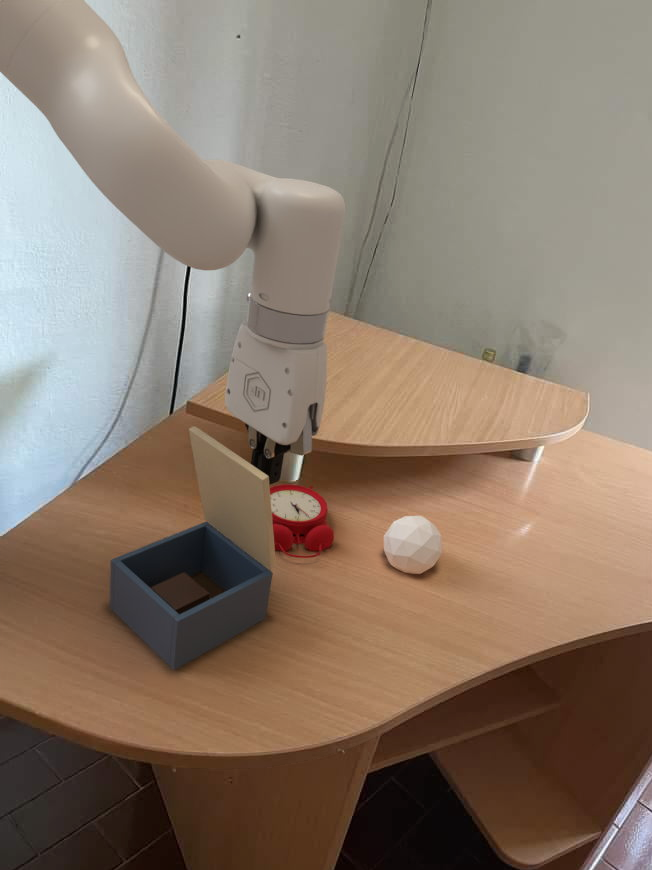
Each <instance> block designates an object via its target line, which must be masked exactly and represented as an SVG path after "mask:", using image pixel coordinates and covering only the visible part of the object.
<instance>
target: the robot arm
mask: <svg viewBox="0 0 652 870" xmlns="http://www.w3.org/2000/svg"><path fill="white" fill-rule="evenodd" d="M126 54H127V53H126V52H125V50H124V47H123V45H122V43H121V41H120V39H119V38H118V36H117V34H116V33H115V32H114V31H113V29H112V27H111V26H109V25H108V24H107V22H106V21H105V20H104V18H102V17H101V16H100V15H98V13H97V12H96V11H95V10H94V8H92V6H90V5H89V4H88V3H87V2H86V0H0V74H2V75H3V77H4V78H6V79H7V80H8V81H9V82H10V84H12V85H13V86H14V87H15V88H16V89H17V90H18V91H19V92H20V93H22V94H23V96H25V98H27V99H28V100H29V101H30V103H32V104H33V105H34V106H35V107H36V108H37V109H38V110H39V111H40V113H42V115H43V116H44V117H45V119H46V120H47V121H48V122H49V124H50V126H51V128H52V129H53V131H54V133H55V134H56V136H57V138H58V139H59V141H60V142H61V143H62V144H63V145H64V146H65V148H66V149H67V151H68V152H69V153H70V155H71V156H72V158H73V159H74V160H75V161H76V163H77V164H78V166H79V167H80V169H82V171H83V173H85V175H86V176H87V177H88V179H89V180H90V181H91V183H92V184H93V185H94V186H95V187H96V188H97V190H99V192H100V193H102V195H103V196H104V197H105V198H106V199H107V200H108V201H109V202H110V203H111V204H112V205H113V206H114V207H115V208H116V209H117V210H118V211H119V212H120V213H121V214H122V215H123V216H124V217H126V219H128V220H129V221H130V222H131V223H132V224H133V225H134V226H135V227H136V228H138V229H139V231H141V232H142V233H143V234H144V235H145V236H146V237H147V238H148V239H149V240H150V241H152V242H153V243H154V244H155V245H156V246H157V247H158V248H160V249H161V250H162V251H163V252H164V253H166V255H168V256H170V257H171V258H172V259H174V260H176V261H177V262H179V263H181V264H183V265H184V266H186V267H190V268H192V269H195V270H200V271H207V272H208V271H217V270H221V269H224V268H226V267H229V266H231V265H232V264H233V263H235V262H236V261H237V260H238V259H240V257H241V256H242V255H243V254H244V252H245V251H246V249H250V250H252V252H253V262H252V263H253V264H252V273H251V282H250V291H249V292H248V294H247V295H246V302H247V303H248V308H247V309H248V310H247V319H244V320H243V321H242V322H241V324H240V327H239V329H238V332H237V334H236V338H235V341H234V344H233V348H232V352H231V356H230V361H229V367H228V373H227V378H226V385H225V394H224V404H225V407H226V409H227V411H228V412H229V413H230V414H231V415H232V416H234V417H235V418H237V419H238V420H239V421H241V422H242V423H243V424H244V426H245V428H246V430H247V433H248V446H249V447H250V449H252V451H251V459H250V464H251V465H253V466H254V467H256V468H257V469H259V470H260V471H262V472H263V473H265V474H266V475H268V476H269V486H270V485H273V484H275V483H276V484H277V483H278V482H279V481H280V480H281V476H282V470H283V462H284V457H285V454H287V453H289V452H290V453H291V454H294V455H297V456H300V457H301V456H305V455H308V454H311V452H312V451H313V437H315V436H316V435H317V434H318V433H319V430H320V427H321V424H322V423H321V422H322V418H323V413H324V407H325V401H326V400H325V399H326V390H327V377H328V374H327V373H328V348H327V344H326V343H325V341H324V340H325V335H326V329H327V323H328V319H329V312H330V306H331V300H332V299H331V298H332V295H333V290H334V289H333V288H334V282H335V277H336V271H337V265H338V260H339V254H340V248H341V247H340V246H341V244H342V243H341V242H342V238H343V237H342V236H343V232H344V231H343V230H344V225H345V220H346V203H345V202H346V201H345V200H344V197H343V195H341V193H340V192H338V191H337V190H336V189H334V188H332V187H329V186H327V185H324V184H321V183H317V182H314V181H309V180H304V179H298V178H288V177H285V178H284V177H283V178H282V177H281V178H279V177H275V176H273V175H270V174H266V173H263V172H260V171H257V170H254V169H253V168H249V167H246V166H244V165H241V164H238V163H236V162H233V161H229V160H225V159H220V158H219V159H216V158H212V159H205V160H204V159H202V158H201V157H200V155H198V154H197V153H196V152H195V150H194V149H192V148H191V146H190V145H189V144H188V143H187V142H186V141H185V140H184V138H182V137H181V136H180V135H179V134H178V133H177V132H176V131H175V129H173V127H171V125H170V124H169V123H168V121H166V120H165V119H164V117H163V116H162V115H161V114H160V112H159V110H157V108H155V106H154V105H153V103H152V102H151V101H150V100H149V98H148V97H147V95H146V94H145V93H144V91H143V89H142V88H141V86H140V85H139V83H138V81H137V79H136V77H135V76H134V73H133V71H132V69H131V66H130V63H129V60H128V57H127V55H126Z"/></svg>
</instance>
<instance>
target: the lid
mask: <svg viewBox="0 0 652 870" xmlns="http://www.w3.org/2000/svg"><path fill="white" fill-rule="evenodd" d="M188 432H189V433H188V434H189V440H190V446H191V451H192V456H193V462H194V469H195V473H196V480H197V486H198V491H199V496H200V503H201V508H202V514H203V519H204V521H205V522H206V521H207V522H208V523H209V524H211V525H212V526H213V527H215V528H216V529H217V530H218V531H220V532H221V533H222V534H224V535H225V536H226V537H227V538H229V539H230V540H231V541H233V542H234V543H235V544H236V545H238V546H239V547H240V548H242V549H243V550H244V551H245V552H247V553H248V554H249V555H251V556H252V557H253V558H254V559H256V560H257V561H258V562H260V563H261V564H262V565H263V566H265V567H266V568H267V569H268V570H270V571H271V572H273V570H275V569H276V568H277V560H276V550H275V547H274V534H273V522H272V510H271V498H270V488H271V486H270V485H269V476H268V475H266V474H265V473H263V472H262V471H260V470H259V469H257V468H256V467H254V466H253V465H251V462H249V461H247V460H246V459H244V458H243V457H241V456H240V455H238V454H237V453H235V452H234V451H232V450H231V449H229V448H228V447H226V446H225V445H223V444H222V443H221V442H219V441H217V440H216V439H215V438H214V437H212V436H210V435H208V433H206V432H204V431H203V430H202V429H200V428H198V427H197V426H196V425H193V426H191V427H190V428H188Z"/></svg>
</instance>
